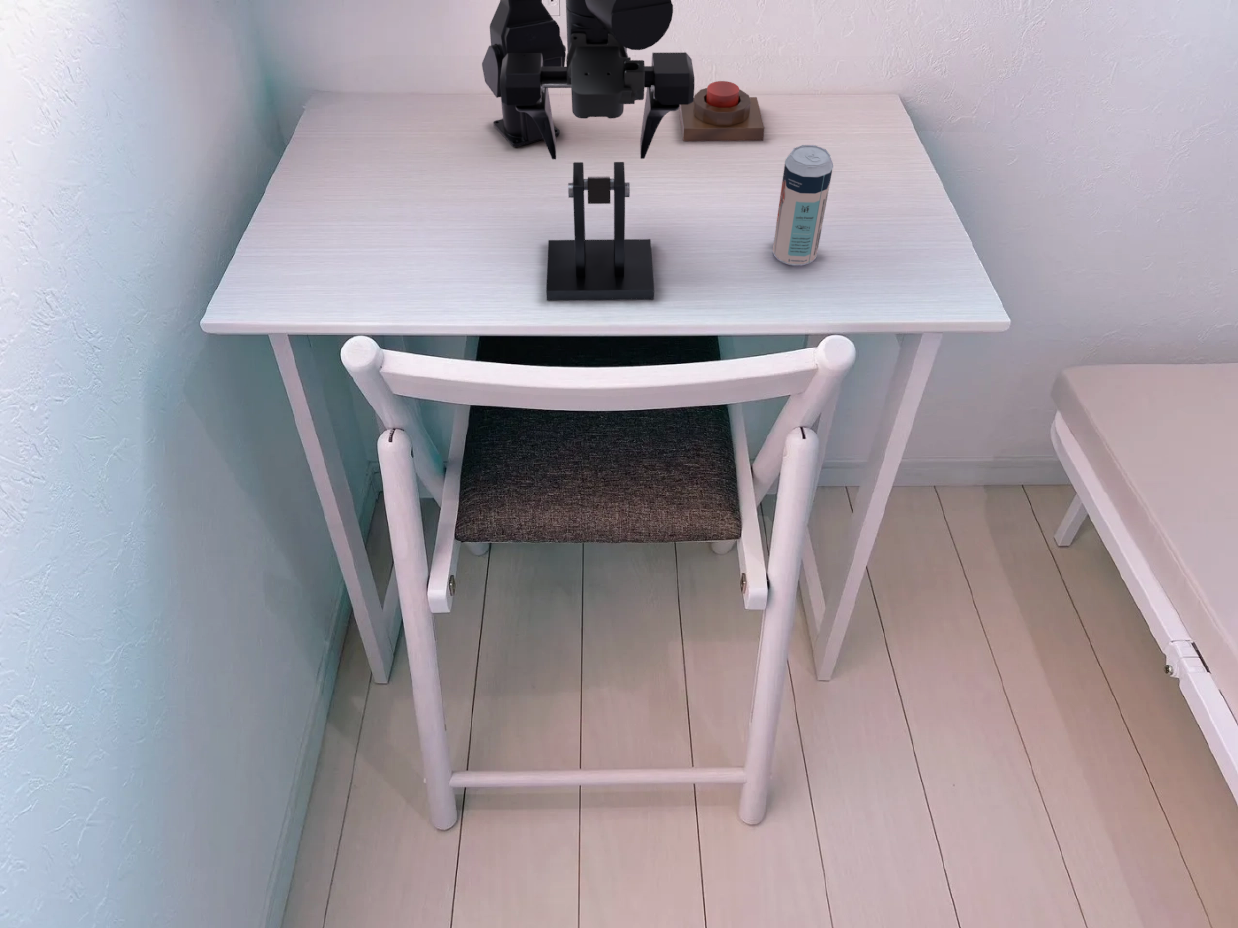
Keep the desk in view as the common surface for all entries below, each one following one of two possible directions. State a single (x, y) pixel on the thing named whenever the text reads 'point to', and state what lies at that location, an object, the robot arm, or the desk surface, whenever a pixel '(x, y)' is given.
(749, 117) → the button block
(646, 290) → the bracket
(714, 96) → the button
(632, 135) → the desk surface
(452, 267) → the desk surface
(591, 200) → the lever
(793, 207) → the beer can
